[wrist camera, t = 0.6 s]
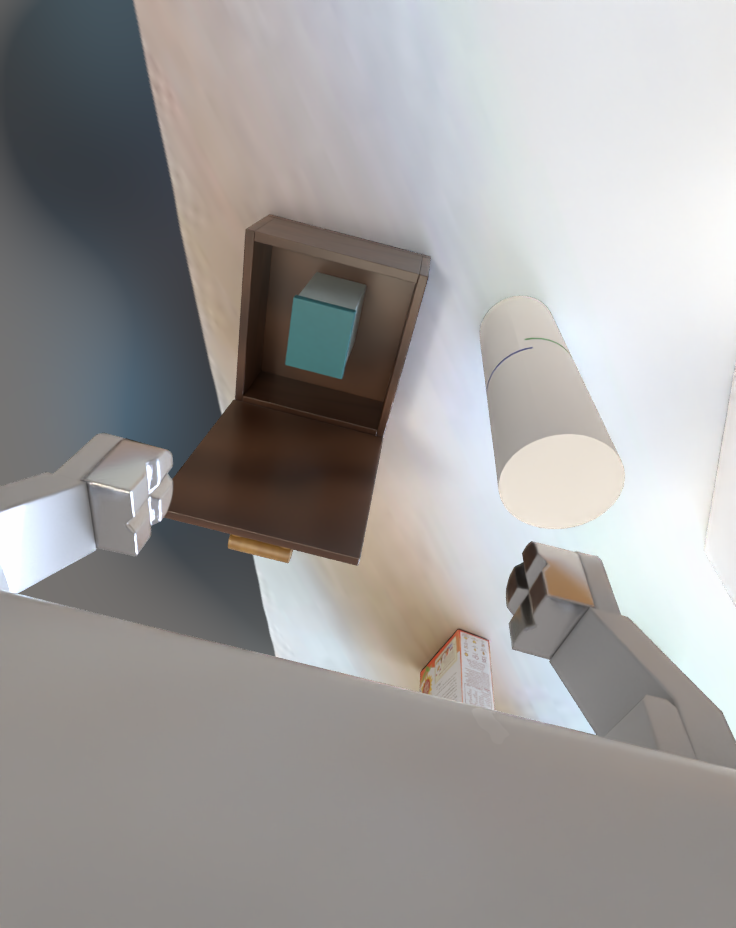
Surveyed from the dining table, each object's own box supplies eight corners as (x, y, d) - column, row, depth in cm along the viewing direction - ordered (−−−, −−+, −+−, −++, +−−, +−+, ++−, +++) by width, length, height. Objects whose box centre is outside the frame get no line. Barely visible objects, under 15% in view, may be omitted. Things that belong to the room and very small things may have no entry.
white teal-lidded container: (315, 269, 48) (293, 297, 42) (368, 283, 49) (355, 313, 42) (306, 330, 52) (284, 365, 45) (355, 343, 52) (341, 379, 45)
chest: (269, 213, 47) (245, 228, 41) (430, 256, 47) (428, 276, 42) (255, 371, 57) (234, 400, 51) (389, 406, 57) (383, 438, 52)
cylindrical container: (469, 312, 50) (483, 455, 30) (543, 283, 47) (612, 418, 27) (491, 374, 53) (517, 539, 33) (561, 350, 51) (634, 513, 31)
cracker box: (450, 682, 87) (451, 821, 70) (419, 670, 86) (411, 809, 69) (492, 640, 79) (504, 786, 62) (458, 627, 78) (460, 771, 61)
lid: (150, 506, 36) (152, 551, 39) (360, 558, 37) (348, 599, 39) (233, 399, 51) (230, 437, 53) (383, 437, 51) (373, 473, 54)
